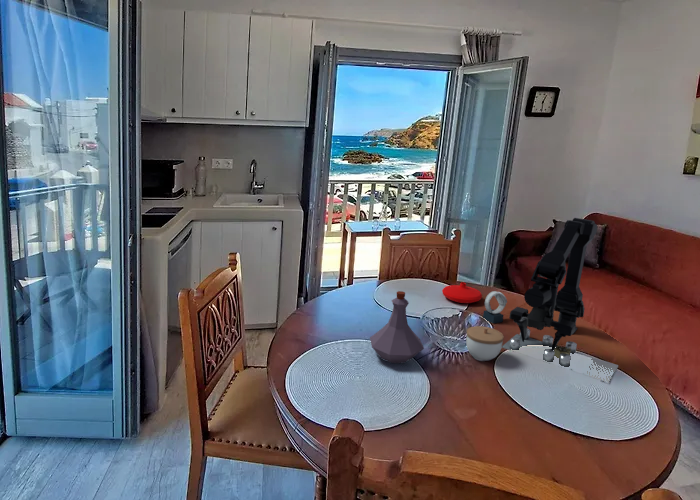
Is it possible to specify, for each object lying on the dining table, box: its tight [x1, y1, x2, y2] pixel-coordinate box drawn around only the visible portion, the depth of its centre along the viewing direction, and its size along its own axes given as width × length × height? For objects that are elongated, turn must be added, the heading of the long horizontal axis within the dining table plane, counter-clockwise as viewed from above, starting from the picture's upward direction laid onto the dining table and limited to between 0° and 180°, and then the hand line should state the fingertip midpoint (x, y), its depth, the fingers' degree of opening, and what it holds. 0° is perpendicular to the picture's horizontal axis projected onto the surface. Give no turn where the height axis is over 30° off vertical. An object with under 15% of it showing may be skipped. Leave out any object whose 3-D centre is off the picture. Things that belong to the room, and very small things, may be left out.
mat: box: [501, 333, 619, 383], centre depth 150 cm, size 14×31×1 cm, turn 52°
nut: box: [554, 345, 571, 358], centre depth 149 cm, size 5×4×3 cm
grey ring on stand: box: [482, 290, 508, 324], centre depth 174 cm, size 6×8×11 cm
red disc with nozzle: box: [441, 281, 483, 304], centre depth 195 cm, size 16×16×7 cm
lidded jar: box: [465, 325, 505, 362], centre depth 146 cm, size 11×11×9 cm
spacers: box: [509, 327, 578, 367], centre depth 152 cm, size 14×18×3 cm
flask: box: [369, 290, 425, 364], centre depth 142 cm, size 16×16×20 cm
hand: (537, 345), depth 154 cm, fingers open, 9 cm apart
